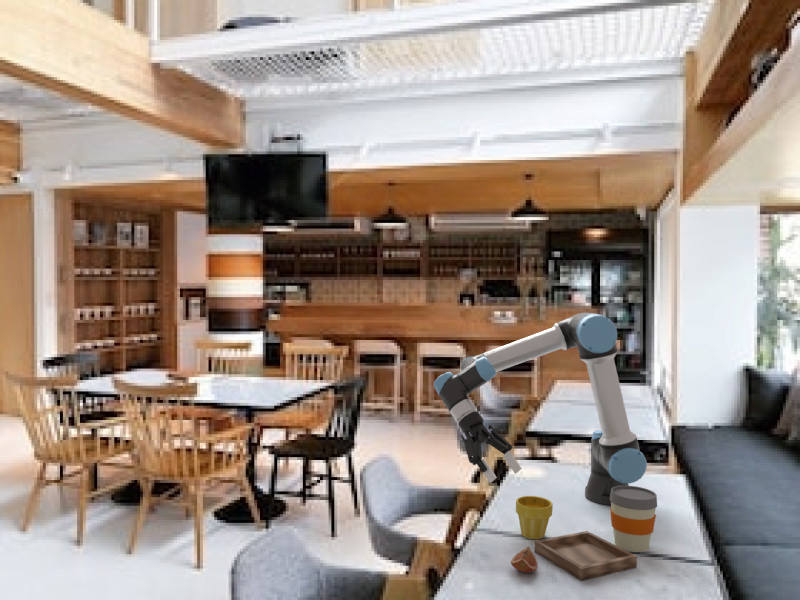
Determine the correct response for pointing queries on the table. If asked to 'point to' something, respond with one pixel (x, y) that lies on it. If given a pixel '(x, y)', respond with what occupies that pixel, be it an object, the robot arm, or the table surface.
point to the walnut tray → (585, 555)
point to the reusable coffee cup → (632, 517)
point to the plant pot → (533, 515)
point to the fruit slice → (525, 561)
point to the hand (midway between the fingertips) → (506, 475)
